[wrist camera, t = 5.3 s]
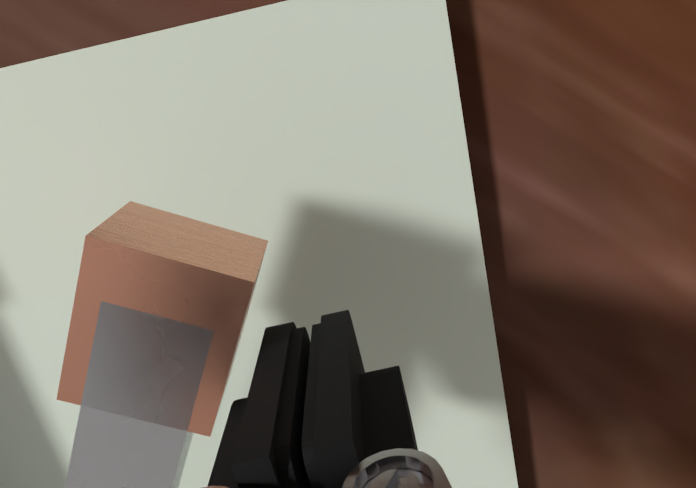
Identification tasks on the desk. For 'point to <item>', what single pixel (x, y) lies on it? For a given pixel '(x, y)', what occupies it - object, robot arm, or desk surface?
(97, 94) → the mat
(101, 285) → the jaw
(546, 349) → the desk surface
